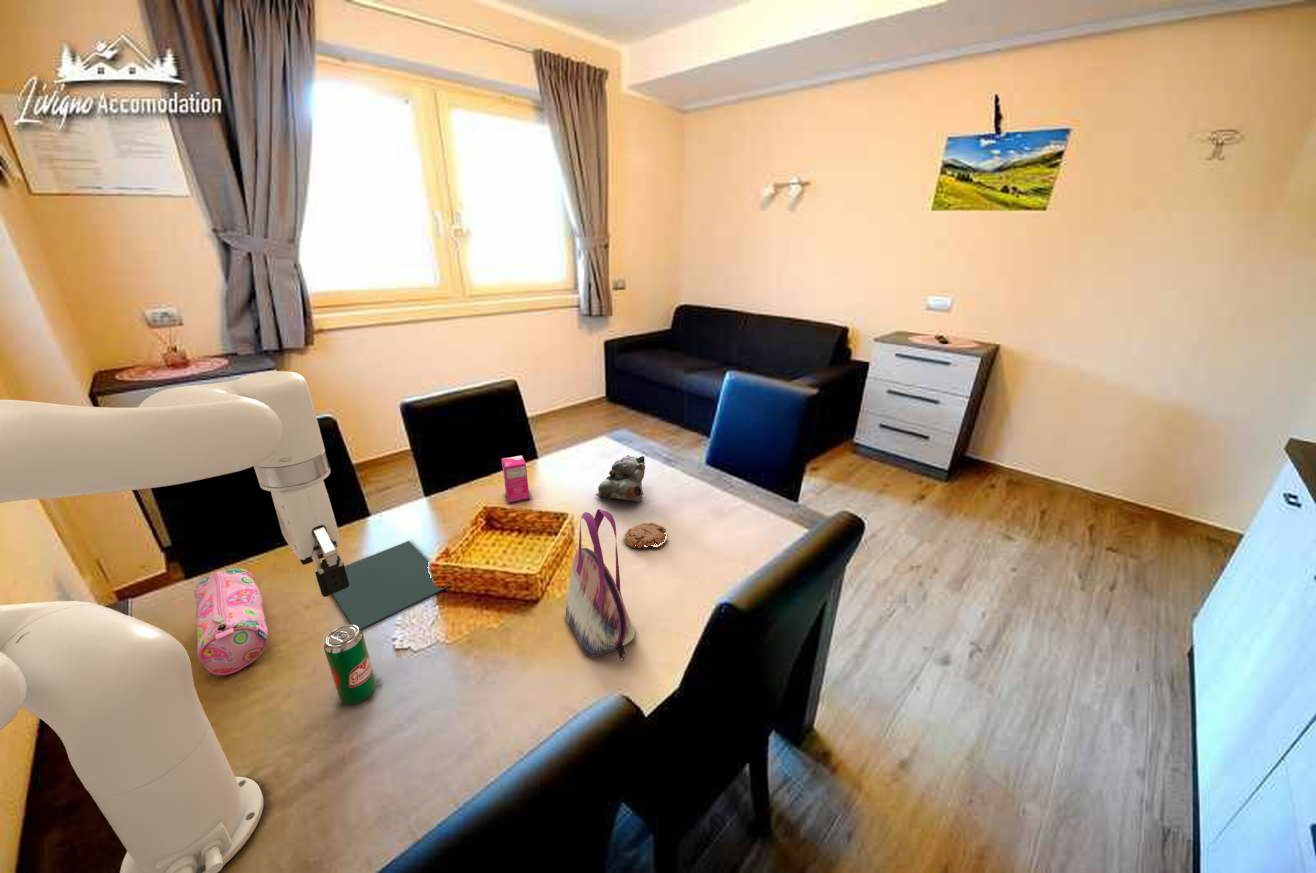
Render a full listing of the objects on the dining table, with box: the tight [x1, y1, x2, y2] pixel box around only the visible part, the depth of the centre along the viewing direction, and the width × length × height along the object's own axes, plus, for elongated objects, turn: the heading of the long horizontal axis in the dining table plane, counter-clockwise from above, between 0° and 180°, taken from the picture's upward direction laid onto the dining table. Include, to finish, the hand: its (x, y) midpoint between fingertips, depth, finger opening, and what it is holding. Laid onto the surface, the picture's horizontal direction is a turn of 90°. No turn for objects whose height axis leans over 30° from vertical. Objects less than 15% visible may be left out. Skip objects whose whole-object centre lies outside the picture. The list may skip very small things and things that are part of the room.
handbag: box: [565, 508, 636, 663], centre depth 86 cm, size 21×10×25 cm, turn 30°
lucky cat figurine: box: [594, 454, 646, 503], centre depth 136 cm, size 15×12×14 cm
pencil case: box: [193, 567, 269, 676], centre depth 85 cm, size 21×9×9 cm, turn 41°
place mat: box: [331, 540, 448, 631], centre depth 101 cm, size 22×18×1 cm
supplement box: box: [501, 455, 531, 504], centre depth 133 cm, size 6×6×12 cm
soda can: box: [323, 624, 377, 705], centre depth 74 cm, size 5×5×12 cm
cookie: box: [624, 522, 669, 549], centre depth 117 cm, size 10×11×3 cm
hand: (325, 574), depth 69 cm, fingers open, 9 cm apart
